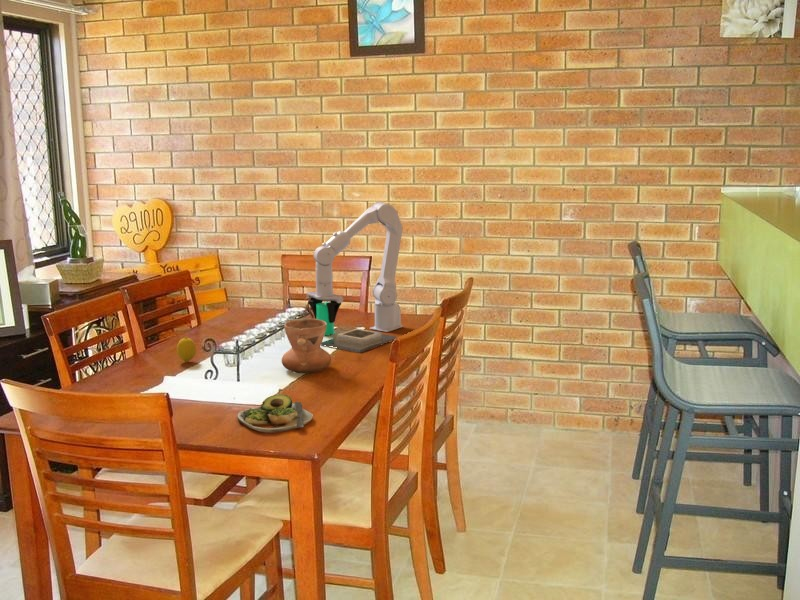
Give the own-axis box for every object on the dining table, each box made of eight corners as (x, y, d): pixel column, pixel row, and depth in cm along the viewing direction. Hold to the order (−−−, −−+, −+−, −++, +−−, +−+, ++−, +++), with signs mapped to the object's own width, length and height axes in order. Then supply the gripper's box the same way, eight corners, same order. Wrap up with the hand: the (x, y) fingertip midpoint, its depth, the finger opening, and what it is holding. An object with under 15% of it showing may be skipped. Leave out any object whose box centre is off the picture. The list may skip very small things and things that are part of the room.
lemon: (186, 358, 263) (185, 333, 261) (200, 361, 260) (198, 336, 259) (173, 363, 258) (172, 337, 257) (187, 365, 256) (185, 339, 254)
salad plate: (331, 426, 205) (331, 408, 205) (264, 442, 196) (263, 423, 195) (294, 405, 221) (293, 388, 220) (229, 418, 211) (229, 401, 210)
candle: (335, 331, 296) (334, 297, 294) (332, 335, 290) (331, 301, 288) (318, 331, 297) (317, 297, 294) (315, 335, 291) (314, 301, 288)
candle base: (358, 333, 294) (358, 324, 293) (396, 339, 285) (396, 330, 284) (321, 345, 278) (320, 336, 277) (360, 352, 269) (359, 343, 268)
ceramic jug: (327, 378, 242) (326, 330, 240) (276, 378, 243) (274, 329, 240) (335, 361, 260) (334, 315, 257) (288, 360, 261) (287, 315, 258)
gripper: (300, 281, 291) (301, 320, 293) (333, 286, 282) (334, 326, 285) (313, 278, 296) (314, 316, 299) (346, 282, 288) (347, 322, 291)
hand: (325, 321), depth 292 cm, fingers closed on candle, 6 cm apart
